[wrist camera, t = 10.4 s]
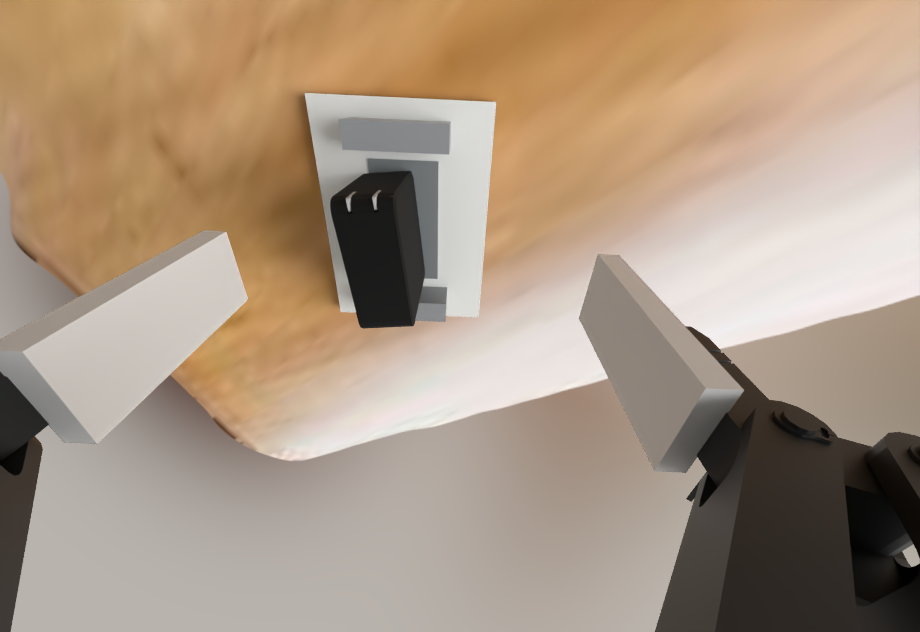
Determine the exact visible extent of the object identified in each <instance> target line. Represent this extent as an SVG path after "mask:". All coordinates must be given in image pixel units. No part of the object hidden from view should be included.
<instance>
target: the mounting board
mask: <svg viewBox="0 0 920 632" xmlns="http://www.w3.org/2000/svg"><path fill="white" fill-rule="evenodd" d="M305 99H306V105H307V111H308V117H309V123H310V129H311V135H312V141H313V147H314V153H315V159H316V165H317V171H318V177H319V183H320V189H321V195H322V201H323V207H324V214H325V220H326V226H327V232H328V238H329V244H330V250H331V256H332V262H333V268H334V274H335V280H336V286H337V292H338V298H339V304H340V310H341V312H356V310H355V306H354V302H353V298H352V294H351V290H350V286H349V282H348V278H347V274H346V271H345V267H344V263H343V259H342V255H341V251H340V247H339V243H338V239H337V235H336V231H335V227H334V224H333V220H332V216H331V210H330V200H331V198H332V196H334V195H335V194H336V193H338V192H339V191H340V190H342V189H343V188H345V187H346V186H347V185H349V184H350V183H351V182H353V181H354V180H356V179H357V178H358V177H360V176H361V175H362V174H368V173H384V172H399V171H412V175H413V178H414V185H415V193H416V201H417V209H418V217H419V226H420V234H421V242H422V250H423V258H424V266H425V278H424V283H423V287H422V292H421V296H420V301H419V305H418V310H417V314H416V319H415V321H438V322H445V321H446V316H461V317H479V306H480V294H481V282H482V269H483V257H484V245H485V233H486V220H487V208H488V196H489V184H490V171H491V159H492V147H493V134H494V122H495V110H496V102H483V101H462V100H441V99H420V98H400V97H379V96H358V95H337V94H316V93H305Z"/></svg>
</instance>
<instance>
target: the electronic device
mask: <svg viewBox="0 0 920 632" xmlns="http://www.w3.org/2000/svg"><path fill="white" fill-rule="evenodd" d="M330 210H331V216H332V220H333V224H334V227H335V231H336V235H337V239H338V243H339V247H340V251H341V255H342V259H343V263H344V267H345V271H346V274H347V278H348V282H349V286H350V290H351V294H352V298H353V302H354V306H355V310H356V314H357V318H358V322H359V324H360V327H361V328H382V327H404V326H414V324H415V319H416V314H417V310H418V305H419V301H420V296H421V292H422V287H423V283H424V278H425V266H424V258H423V250H422V242H421V234H420V226H419V217H418V209H417V201H416V193H415V185H414V178H413V175H412V171H399V172H384V173H368V174H362V175H361V176H360V177H358V178H357V179H356V180H354V181H353V182H351V183H350V184H349V185H347V186H346V187H345V188H343V189H342V190H340V191H339V192H338V193H336V194H335V195H334V196H332V198H331V200H330Z"/></svg>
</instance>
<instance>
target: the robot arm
mask: <svg viewBox="0 0 920 632" xmlns="http://www.w3.org/2000/svg"><path fill="white" fill-rule="evenodd" d="M247 300H248V298H247V295H246V292H245V288H244V285H243V282H242V279H241V276H240V273H239V270H238V267H237V264H236V260H235V257H234V254H233V251H232V248H231V245H230V242H229V239H228V236H227V233H226V232H225V231H208V230H204V231H202V232H200V233H198V234H196V235H194V236H192V237H190V238H189V239H187V240H185V241H183V242H181V243H179V244H177V245H175V246H174V247H172V248H170V249H168V250H166V251H164V252H162V253H161V254H159V255H157V256H155V257H153V258H151V259H149V260H147V261H146V262H144V263H142V264H140V265H138V266H136V267H134V268H132V269H131V270H129V271H127V272H125V273H123V274H121V275H119V276H117V277H116V278H114V279H112V280H110V281H108V282H106V283H104V284H102V285H101V286H99V287H97V288H95V289H93V290H91V291H89V292H88V293H86V294H84V295H82V296H80V297H78V298H76V299H74V300H73V301H71V302H69V303H67V304H65V305H63V306H62V307H60V308H58V309H56V310H54V311H52V312H50V313H48V314H46V315H44V316H43V317H41V318H39V319H37V320H35V321H33V322H31V323H30V324H28V325H26V326H24V327H22V328H20V329H18V330H16V331H15V332H13V333H11V334H9V335H7V336H5V337H3V338H2V339H0V632H10V631H11V625H12V620H13V614H14V609H15V602H16V597H17V591H18V586H19V580H20V575H21V569H22V563H23V557H24V552H25V546H26V541H27V535H28V529H29V524H30V518H31V512H32V507H33V501H34V495H35V490H36V484H37V478H38V473H39V467H40V461H41V456H42V450H43V449H42V445H41V443H40V442H39V440H38V439H37V438H36V437H35V435H36V434H38V433H39V432H40V431H41V430H43V429H44V428H45V427H46V426H48V425H49V426H50V428H51V429H52V430H53V431H54V432H55V433H56V434H57V435H58V436H59V438H60V439H61V440H62V441H63V442H65V443H67V442H68V443H86V444H87V443H88V444H98V443H99V442H100V441H101V440H102V439H103V438H104V437H105V436H106V435H107V434H108V433H109V432H110V431H112V429H114V428H115V427H116V426H117V425H118V424H119V423H120V422H121V421H122V420H123V419H124V418H125V417H126V416H127V415H128V414H129V413H130V412H131V411H132V410H133V409H134V408H135V407H137V406H138V405H139V404H140V403H141V402H142V401H143V400H144V399H145V398H146V397H147V396H148V395H149V394H150V393H151V392H152V391H153V390H154V389H155V388H156V387H157V386H158V385H159V384H160V383H162V382H163V381H164V380H165V379H166V378H167V377H168V376H169V375H170V374H171V373H172V372H173V371H174V370H175V369H176V368H177V367H178V366H179V365H180V364H181V363H182V362H183V361H184V360H186V359H187V358H188V357H189V356H190V355H191V354H192V353H193V352H194V351H195V350H196V349H197V348H198V347H199V346H200V345H201V344H202V343H203V342H204V341H205V340H206V339H207V338H208V337H210V336H211V335H212V334H213V333H214V332H215V331H216V330H217V329H218V328H219V327H220V326H221V325H222V324H223V323H224V322H225V321H226V320H227V319H228V318H229V317H230V316H231V315H232V314H233V313H235V312H236V311H237V310H238V309H239V308H240V307H241V306H242V305H243V304H244V303H245V302H246V301H247ZM579 319H580V321H581V323H582V325H583V327H584V329H585V331H586V333H587V335H588V337H589V339H590V341H591V344H592V346H593V348H594V350H595V352H596V354H597V356H598V358H599V360H600V362H601V364H602V366H603V368H604V370H605V372H606V374H607V376H608V378H609V380H610V382H611V384H612V386H613V388H614V390H615V392H616V394H617V396H618V398H619V400H620V402H621V404H622V406H623V408H624V410H625V412H626V414H627V416H628V418H629V420H630V422H631V424H632V426H633V429H634V431H635V433H636V435H637V437H638V439H639V441H640V443H641V445H642V447H643V449H644V451H645V452H646V455H647V457H648V459H649V461H650V463H651V465H652V467H653V469H654V471H663V472H682V473H686V472H687V471H688V469H689V468H690V466H691V465H692V463H693V462H694V461H695V459H696V458H697V457H698V458H699V460H700V461H701V463H702V465H703V466H704V468H705V469H706V471H707V472H706V473H705V475H704V476H703V477H702V479H701V480H700V481H699V483H698V484H697V485H696V486H695V488H694V489H693V490H692V492H691V493H690V495H689V496H688V497H687V498H686V499H687V500H689V501H692V500H693V499H694V498H695V499H694V503H693V506H692V509H691V512H690V516H689V519H688V523H687V526H686V529H685V533H684V536H683V539H682V543H681V546H680V549H679V553H678V556H677V560H676V564H675V566H674V570H673V573H672V576H671V580H670V583H669V587H668V590H667V593H666V597H665V600H664V604H663V607H662V610H661V613H660V617H659V620H658V623H657V627H656V630H655V632H920V564H918V565H917V566H914V567H911V566H910V565H909V564H908V562H907V560H906V558H905V556H904V554H903V552H902V551H903V550H904V549H906V548H908V547H909V546H911V545H912V544H914V546H915V548H916V549H917V552H918V555H919V558H920V437H918V436H915V435H910V434H906V433H901V432H894V433H888V434H887V435H886V436H885V437H883V438H882V439H881V440H880V441H879V442H878V443H877V444H876V445H874V446H873V447H871V446H867V445H864V444H860V443H856V442H853V441H849V440H845V439H842V438H838V437H837V436H836V434H835V433H834V432H833V431H832V430H831V429H830V428H829V427H828V426H827V425H826V424H825V423H824V422H822V421H821V420H819V419H818V418H816V417H815V416H814V415H812V414H810V413H808V412H806V411H804V410H802V409H801V408H799V407H797V406H793V405H791V404H787V403H785V402H781V401H774V400H769V399H768V398H767V397H766V396H765V395H764V394H763V393H762V392H761V391H760V390H759V389H758V388H757V387H756V386H755V385H754V384H753V383H752V382H751V381H750V380H749V379H748V378H747V377H746V376H745V375H744V374H743V373H742V372H741V371H740V370H739V368H738V367H737V366H735V364H731V360H730V359H729V358H728V357H727V356H726V355H725V354H724V353H721V350H720V349H719V348H718V347H717V346H716V345H715V344H714V343H713V342H712V341H711V340H710V339H709V338H708V337H706V336H705V335H703V334H702V333H700V332H698V331H697V330H695V329H694V328H692V327H686V326H684V325H683V324H682V323H681V321H680V320H679V319H678V318H677V317H676V316H675V315H674V314H673V313H672V312H671V311H670V310H669V308H668V307H667V306H666V305H665V304H664V303H663V302H662V301H661V300H660V299H659V298H658V297H657V296H656V294H655V293H654V292H653V291H652V290H651V289H650V288H649V287H648V286H647V285H646V284H645V283H644V281H643V280H642V279H641V278H640V277H639V276H638V275H637V274H636V273H635V272H634V271H633V270H632V269H631V267H630V266H629V265H628V264H627V263H626V262H625V261H624V260H623V259H622V258H621V257H620V256H619V255H606V254H598V256H597V259H596V262H595V266H594V269H593V273H592V276H591V279H590V283H589V286H588V290H587V293H586V296H585V300H584V303H583V306H582V310H581V313H580V317H579Z"/></svg>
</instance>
